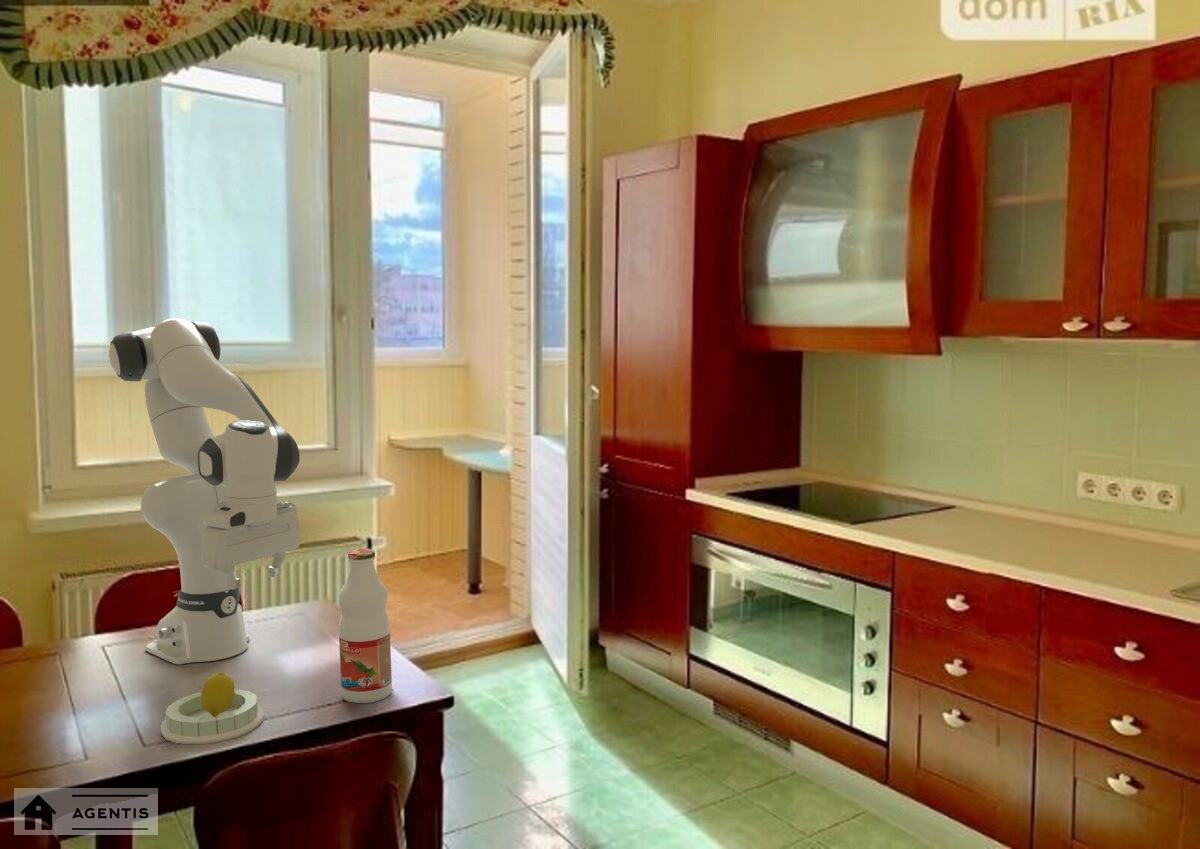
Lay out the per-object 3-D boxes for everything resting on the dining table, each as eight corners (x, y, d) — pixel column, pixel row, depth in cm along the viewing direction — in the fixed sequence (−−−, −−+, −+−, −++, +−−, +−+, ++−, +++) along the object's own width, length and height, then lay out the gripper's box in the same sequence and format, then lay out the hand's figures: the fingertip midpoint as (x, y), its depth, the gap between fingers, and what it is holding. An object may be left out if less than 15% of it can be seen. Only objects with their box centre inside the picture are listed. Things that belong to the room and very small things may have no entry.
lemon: (224, 723, 170) (232, 678, 170) (192, 719, 169) (200, 673, 170) (234, 714, 175) (242, 670, 175) (203, 710, 175) (211, 666, 175)
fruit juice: (401, 694, 185) (396, 551, 182) (357, 708, 179) (351, 560, 175) (376, 681, 192) (370, 543, 189) (332, 694, 185) (326, 551, 182)
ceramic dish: (139, 732, 169) (138, 713, 169) (220, 698, 184) (219, 680, 184) (205, 752, 161) (204, 732, 161) (284, 715, 176) (283, 697, 175)
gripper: (284, 497, 189) (286, 566, 191) (193, 517, 172) (197, 593, 173) (307, 501, 186) (309, 571, 188) (217, 521, 169) (220, 598, 170)
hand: (254, 582), depth 181 cm, fingers open, 8 cm apart
